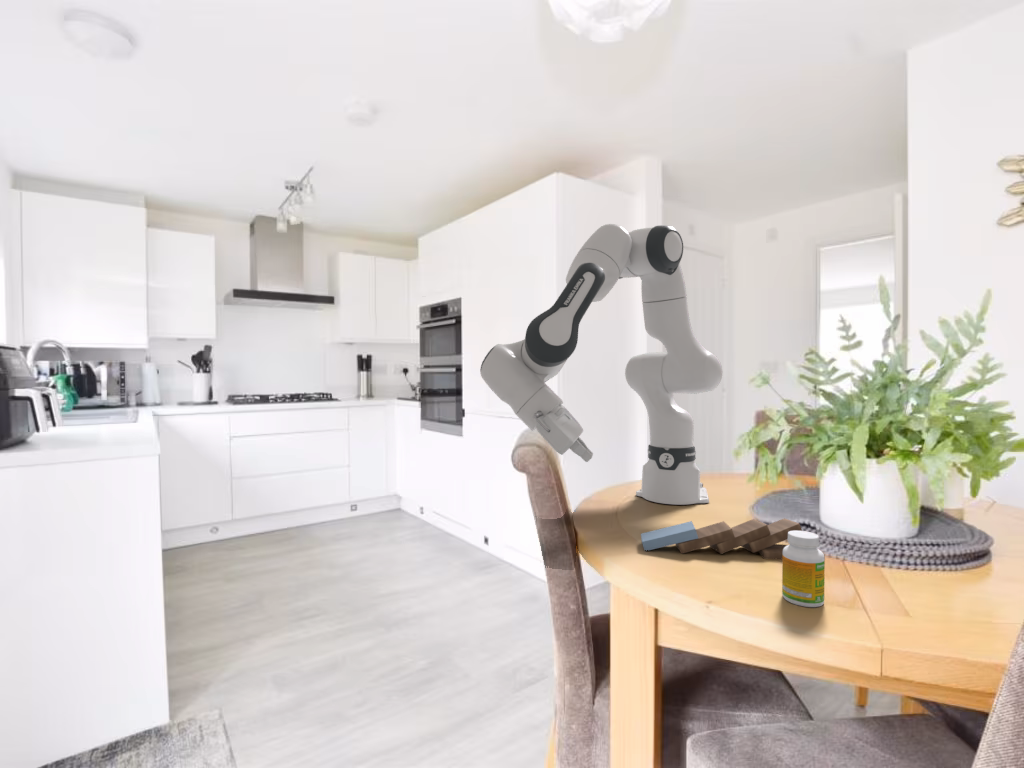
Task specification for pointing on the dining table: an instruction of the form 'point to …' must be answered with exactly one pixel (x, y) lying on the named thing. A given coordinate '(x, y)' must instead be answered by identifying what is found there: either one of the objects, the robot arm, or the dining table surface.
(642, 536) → the domino
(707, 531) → the domino
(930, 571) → the dining table surface
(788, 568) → the supplement bottle
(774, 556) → the domino
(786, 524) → the domino
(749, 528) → the domino
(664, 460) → the robot arm
